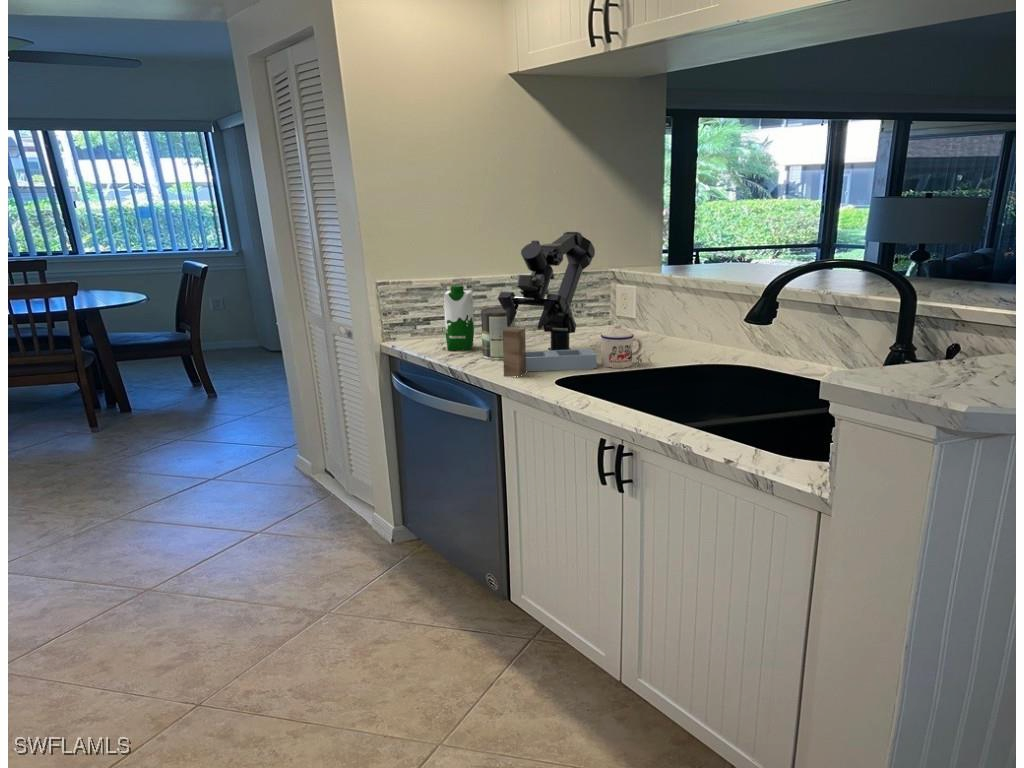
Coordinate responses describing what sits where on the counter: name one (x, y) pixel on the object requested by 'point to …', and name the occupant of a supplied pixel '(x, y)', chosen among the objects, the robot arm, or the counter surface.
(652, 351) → the counter surface
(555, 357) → the blue peg holder
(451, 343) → the milk carton
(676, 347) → the counter surface
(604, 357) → the teacup with lid
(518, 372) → the peg
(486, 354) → the coffee can
